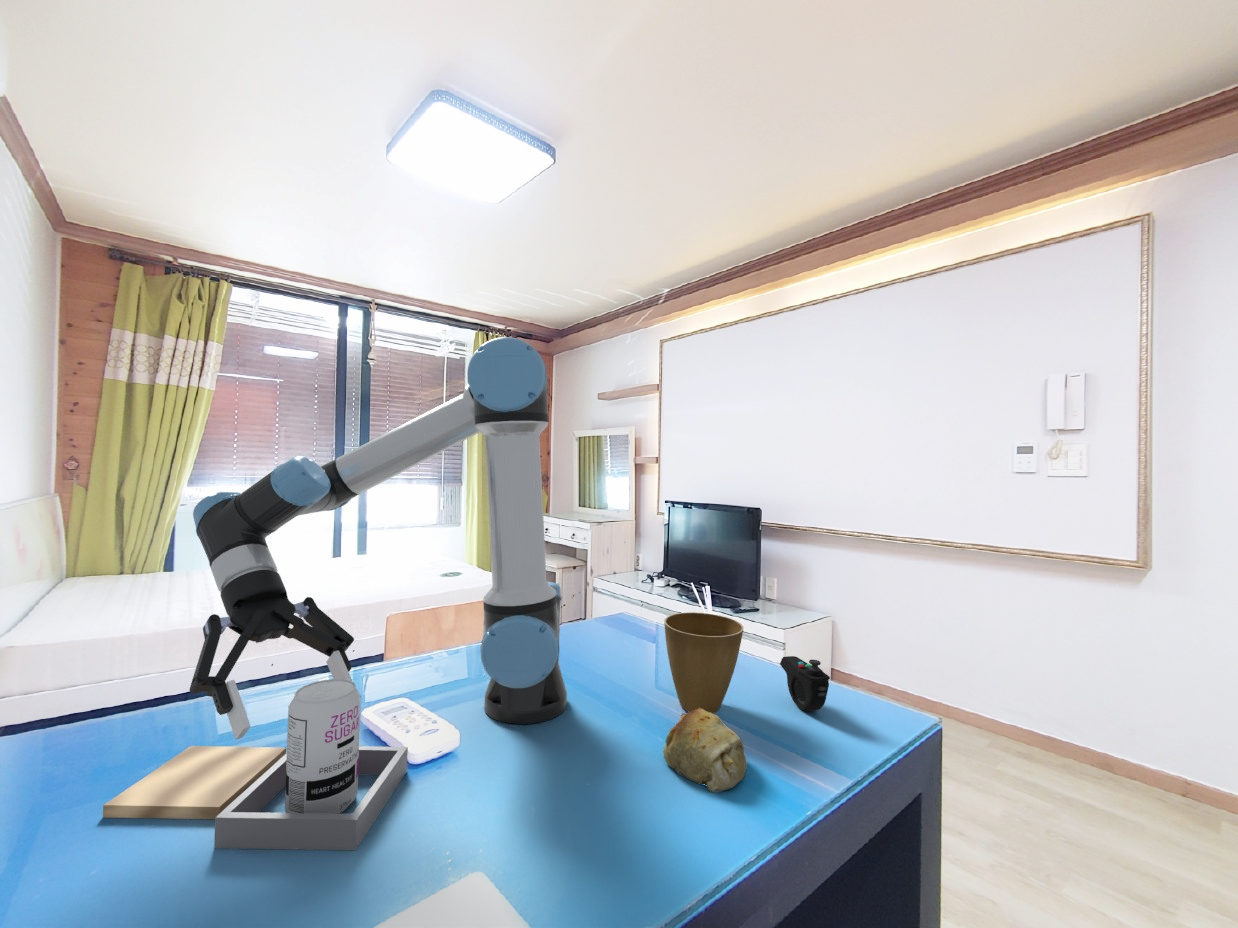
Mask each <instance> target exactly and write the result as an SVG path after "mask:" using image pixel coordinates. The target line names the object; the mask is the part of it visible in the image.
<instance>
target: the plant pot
mask: <svg viewBox="0 0 1238 928" xmlns="http://www.w3.org/2000/svg"><path fill="white" fill-rule="evenodd" d="M663 621H664V623H663V624H664V633H665V644H666V651H667V656H668V657H667V658H668V663H669V667H670V668H669V669H670V672H671V677H672V680H673V684H674V688H675V693H676V695H677V698H678V702H679V704H680V707H681V708H682V709H683V710H684V711H685V712H687V713H689V712H690V711H693V710H695V709H698V708H702V709H704V710H705V711H707V712H711V713H712V714H716V713H717V712H719V711H720V708H721V706H722V704H723V701H724V699H725V696H726V694H727V692H728V689H729V686H730V683H731V682H732V679H733V675H734V672H735V668H736V666H737V661H738V657H739V653H740V648H741V644H742V640H743V639H742V638H743V633H744V626H743V624H742V623H740V622H739V621H737V620H735V619H733V618H731V617H727V616H723V615H720V614H719V615H718V614H713V613H707V612H695V611H691V612H678V613H673V614H670V615H668V616H666V617H665V618H664V620H663Z"/></svg>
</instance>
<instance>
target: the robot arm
mask: <svg viewBox="0 0 1238 928" xmlns="http://www.w3.org/2000/svg"><path fill="white" fill-rule="evenodd" d="M467 366H468V367H467V373H466V375H467V377H466V378H467V385H466V386H465V388H464V391H463V393H462V394H460V395H459V396H456V397H454V398H452V399H450V400H449V401H446V402H445V403H442V404H441V405H438V406H437V407H435V408H433V409H430V410H428V411H427V412H425V413H422V414H421V415H419V416H417V417H415V418H413V419H411V420H409V421H407V422H405V423H403V424H402V425H400V426H397V427H395V428H393V429H392V430H391V429H390V431H388V432H386V433H383V434H382V435H380V436H378V437H375V438H374V439H372V440H370V441H368V442H366V443H364V444H362V445H360V446H358V447H356V448H354V449H352V450H350V451H348V452H347V453H344V454H342V455H340V456H339V457H337V458H336V459H333V460H331V461H329V462H327V463H325V464H323V465H321V466H320V465H319V464H317V463H316V462H315V461H314V460H312V459H309V458H308V457H307V456H304V455H303V456H302V455H299V456H294V457H292V458H291V459H289V460H287V461H285V462H284V463H282V464H279V465H277V466H276V467H275V468H274V469H273V470H272V471H271V472H269V473H268V474H267V475H265V476H263V477H262V478H260V479H259V480H258V481H257V482H255V483H254V484H252V485H251V486H249V487H248V488H247V489H245V490H244V491H243V492H239V491H233V490H225V491H219V492H217V493H216V494H214V495H207V496H205V497H204V498H202V499H201V500H199V501H198V502H197V504H196V505H195V506H194V508H193V511H192V517H193V521H194V525H195V533H196V536H197V537H198V539H199V540H200V544H201V545H202V547H203V550H204V553H205V555H206V557H207V559H208V563H209V567H210V571H211V573H212V576H213V578H214V582H215V584H216V586H217V589H218V591H219V594H220V599H221V602H222V604H223V606H224V609H225V613H226V615H228V616H223V617H220V615H218V614H215V613H214V614H211V615H209V617H208V618H207V620H206V622H205V624H204V625H203V627H202V631H203V637H204V638H203V639H204V641H203V644H202V648H201V651H200V655H199V658H198V660H197V664H196V667H195V669H194V673H193V676H192V679H191V683H190V686H189V692H190V693H191V694H198V693H200V692H205V694H206V695H207V696H208V697H210V698H211V697H212V700H213V704H214V707H215V709H216V712H217V714H219V716H223V715H225V714H226V716H227V719H228V721H229V724H230V727H231V730H232V733H233V736H234V739H235V741H237V740H239V739H242V738H243V737H244V736H245V735H246V733H247V732H248V731H249V729H250V728H251V727H252V726H251V724H250V720H249V718H248V717H249V716H248V715H247V711H246V709H245V707H244V703H243V701H242V698H241V694H240V691H239V689H238V686H237V684H236V680H235V679H231V680H229V681H227V679H228V677H229V675H230V674H231V672H232V670H233V668H234V667H235V665H236V664H237V662H238V660H239V658H240V656H241V655H242V653H243V651H244V649H245V648H246V646H247V645H248V642H249V641H251V642H255V644H259V643H263V642H264V641H267V640H276V639H279V638H281V636H283V637H285V638H287V639H289V640H291V639H294V640H296V641H298V642H300V643H302V644H304V645H306V646H308V647H310V648H312V649H313V650H316V651H317V652H319V653H321V654H323V655H325V656H326V657H328V659H327V660H326V665H327V667H328V669H329V672H330V674H331V676H332V677H331V678H332V679H345V680H350V681H352V682H354V681H353V679H352V677H351V674H350V671H351V670H352V665H351V662H350V660H349V657H348V655H347V653H346V651H347V650H348V649H349V647H350V646H351V645H352V644H353V643H354V640H355V638H354V637H353V636H352V634H350V633H349V632H348V631H347V630H345V629H344V628H343V627H341V625H340V624H338V623H337V622H336V621H335V620H333V619H332V618H331V617H330V616H329V615H327V614H326V613H325V612H324V611H322V610H321V608H319V607H318V605H317V604H316V602H315V600H314V599H313V598H312V597H310V596H307V597H305V598H304V600H303V601H301V602H296V603H292V602H291V601H290V600H289V597H288V592H287V589H286V586H285V584H284V582H283V580H282V577H281V574H280V573H278V567H277V564H276V562H275V560H274V558H273V556H272V554H271V551H270V548H269V546H268V544H267V541H266V538H267V537H268V536H270V535H271V534H273V533H275V532H276V531H278V530H279V529H280V528H282V527H283V526H284V525H286V524H287V523H289V522H290V521H291V520H293V519H295V518H296V517H299V516H303V515H308V514H313V513H319V512H329V511H333V510H337V509H339V508H341V507H343V506H345V505H347V504H348V503H349V502H350V501H351V500H352V499H353V498H355V497H357V496H359V495H361V494H362V493H364V492H366V491H368V490H370V489H372V488H374V487H376V486H378V485H380V484H382V483H384V482H386V481H388V480H390V479H391V478H393V477H395V476H398V475H400V474H401V473H404V472H405V471H407V470H409V469H411V468H413V467H416V466H417V465H419V464H420V463H423V462H425V461H427V460H429V459H431V458H432V457H435V456H436V455H438V454H440V453H443V452H444V451H446V450H448V449H450V448H452V447H454V446H456V445H458V444H460V443H462V442H464V441H465V440H468V439H469V438H472V437H473V436H475V435H477V434H482V435H483V437H484V438H485V439H484V441H485V456H486V457H485V459H486V476H487V477H486V478H487V479H486V480H487V498H488V499H487V500H488V520H489V521H488V523H489V538H490V539H489V541H490V543H489V544H490V565H491V582H492V583H491V584H492V586H491V588H490V589H489V590H488V592H486V593H485V595H484V597H483V600H482V601H483V627H484V626H485V635H484V637H483V636H482V640H481V644H480V649H479V651H480V659H481V663H482V667H483V668H484V671H485V672H486V673H487V675H488V676H489V678H490V680H489V682H488V685H487V688H486V691H485V694H484V703H483V704H484V705H483V707H484V708H483V709H484V712H485V714H486V715H488V716H489V717H490V718H491V719H494V720H496V721H498V722H502V723H507V724H516V725H517V724H518V725H526V724H527V725H529V724H536V723H541V722H542V723H543V722H546V721H549V720H551V719H554V718H556V717H557V716H560V715H561V714H562V713H564V712H565V710H566V708H567V701H568V700H567V699H568V694H567V693H568V692H567V688H566V685H565V682H564V678H563V675H562V671H561V667H560V663H559V662H560V661H559V659H560V657H559V656H560V635H561V633H560V629H561V627H560V626H561V601H562V599H563V597H562V595H561V594H562V592H561V590H562V588H561V586H560V585H559V584H558V583H556V582H552V581H547V569H546V567H547V566H546V563H547V562H546V546H545V526H544V505H543V503H544V501H543V500H544V499H543V481H542V461H541V460H542V459H541V440H540V435H541V434H542V432H543V431H545V429H546V428H547V427H548V426H549V410H548V409H549V407H548V405H549V404H548V393H549V379H548V376H547V368H546V364H545V361H544V360H543V357H542V356H541V354H540V353H539V352H538V351H537V350H536V348H534V347H533V346H532V345H530V343H528V342H526V341H524V340H522V339H520V338H515V337H509V336H503V337H496V338H493V339H490V340H488V341H486V342H484V343H483V344H482V345H480V346H479V347H478V348H477V349H476V350H475V351H474V353H473V354H472V356H471V358H470V359H469V363H468V365H467ZM296 614H297V615H296ZM305 622H306V623H305ZM290 625H292V628H291V627H290ZM227 627H228V628H229V629H230V630H231V631H233V632H235V633H237V634H239V636H238V639H237V640H236V642H235V644H234V645H233V646H232V648H231V650H230V651H229V653H228V655H227V656H226V658H225V660H224V661H223V663H222V665H221V666H220V668H219V670H218V671H217V673H216V674H215V676H212V675H211V676H210V673H211V669H212V666H213V662H214V659H215V655H216V652H217V649H218V645H219V642H220V638H221V635H222V634H223V633H224V632H225V630H226V629H227Z"/></svg>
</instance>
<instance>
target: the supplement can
mask: <svg viewBox="0 0 1238 928" xmlns="http://www.w3.org/2000/svg"><path fill="white" fill-rule="evenodd" d="M352 681H353V680H352ZM352 681H350V680H345V679H333V678H332V679H331V678H330V679H324V680H323V679H322V680H318V681H313V682H310V683H309V684H308V683H307V684H306V685H303V686H301V687H300V688H298V689H297V690H296V692H294V697H293V698H292V700H291V702H290V703H289V705H288V710H287V735H286V736H287V737H286V739H287V740H286V742H287V743H286V753H287V762H286V786H285V797H284V799H285V800H284V809H285V810H284V811H285V812H284V813H324V814H342V813H343V812H344V811H346V810H347V809H348V808H349V806H350V805H351V804H352V803H353V802H354V801H355V800H356V799H357V794H358V786H359V785H358V783H359V774H358V761H359V746H360V730H361V729H360V727H361V699H362V696H361V695H360V692H359V690H358V689H357V685H356V683H355V682H354V681H353V682H352Z"/></svg>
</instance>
